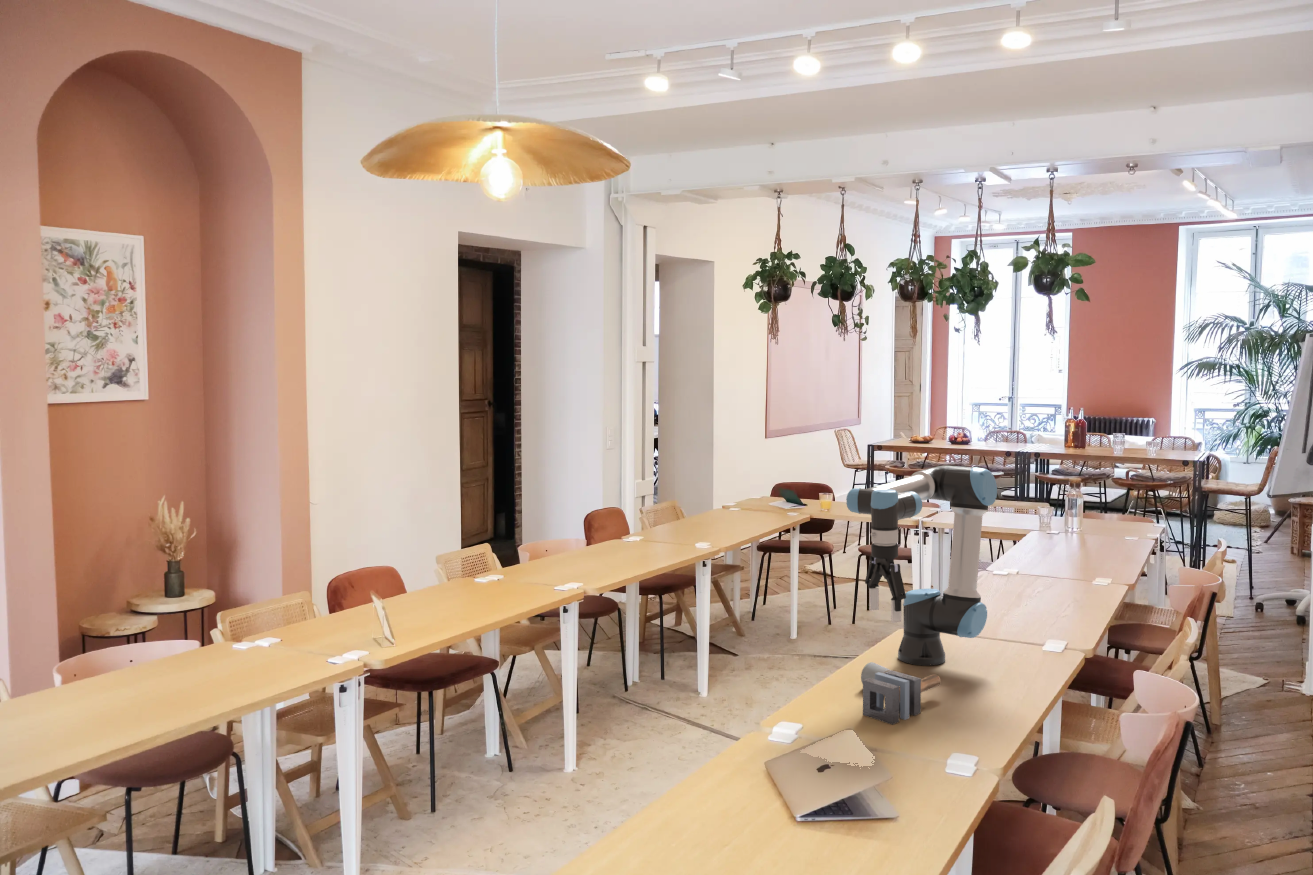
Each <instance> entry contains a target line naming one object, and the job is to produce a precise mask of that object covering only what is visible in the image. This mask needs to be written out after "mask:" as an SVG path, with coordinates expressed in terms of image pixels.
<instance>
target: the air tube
mask: <svg viewBox="0 0 1313 875" xmlns="http://www.w3.org/2000/svg"><path fill="white" fill-rule="evenodd" d="M920 678H921V693H923V692H927V691H929V690H931V689H934V688H937V687H940V685H941V683H942V682H941V678H940V676H939V674H936V673H932V674H930V675H927V676H924V677H920ZM899 701H900V686H899Z"/></svg>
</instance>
